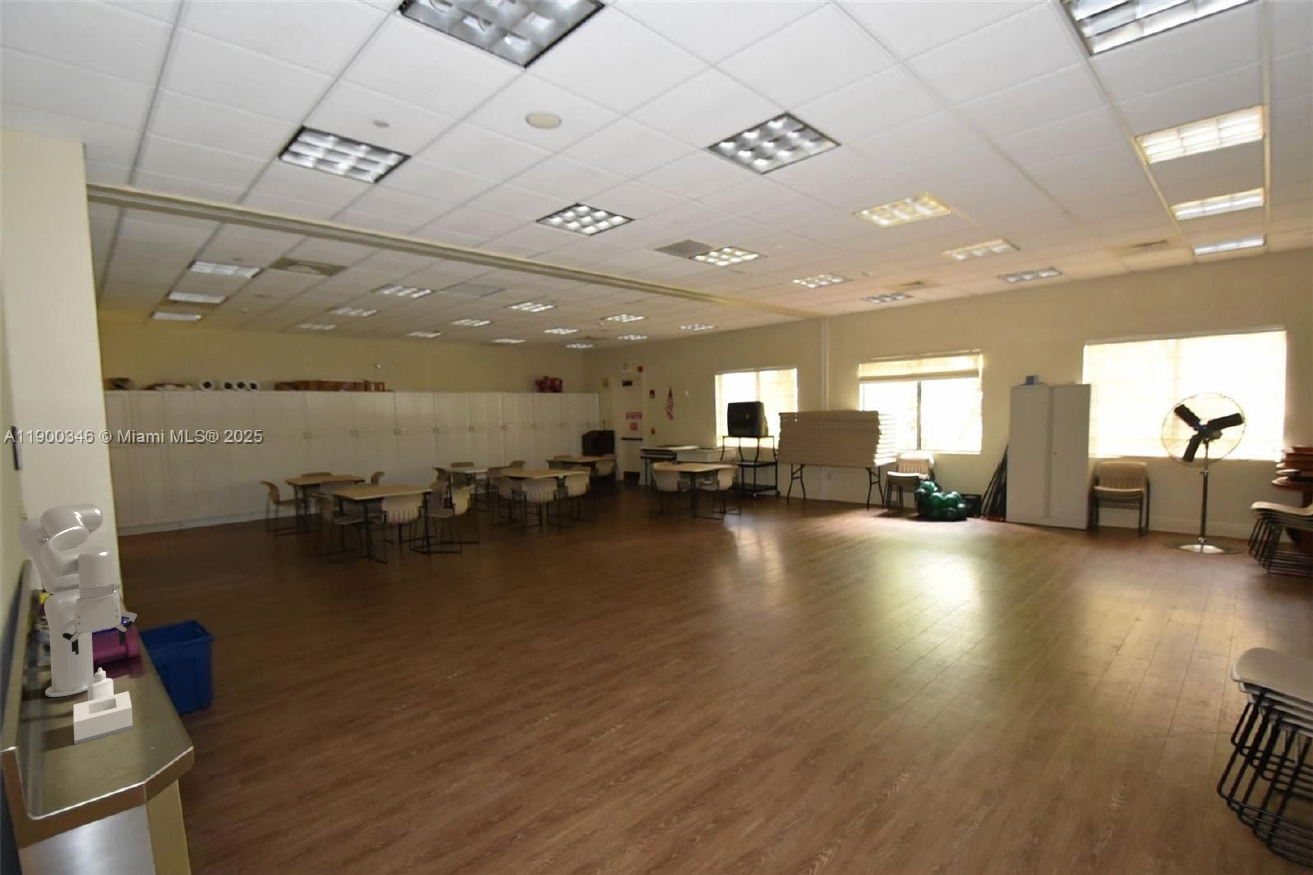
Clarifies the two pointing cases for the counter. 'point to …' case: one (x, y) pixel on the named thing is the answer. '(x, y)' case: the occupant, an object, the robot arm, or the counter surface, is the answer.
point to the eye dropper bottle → (100, 686)
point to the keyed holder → (102, 717)
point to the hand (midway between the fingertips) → (99, 648)
